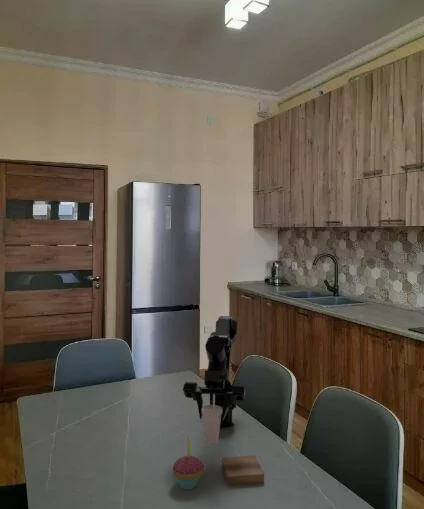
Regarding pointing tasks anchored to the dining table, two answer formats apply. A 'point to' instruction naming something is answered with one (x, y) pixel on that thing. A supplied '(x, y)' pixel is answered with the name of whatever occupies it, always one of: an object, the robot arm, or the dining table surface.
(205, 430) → the smoothie
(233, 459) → the plinth
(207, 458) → the dining table surface
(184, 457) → the cupcake
